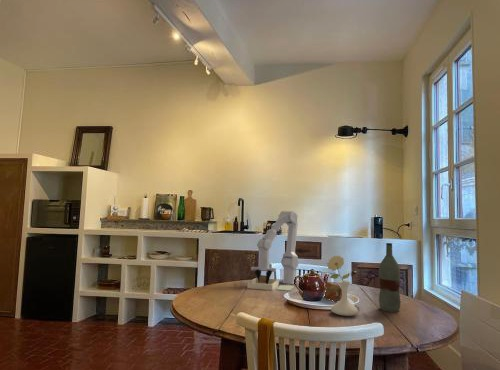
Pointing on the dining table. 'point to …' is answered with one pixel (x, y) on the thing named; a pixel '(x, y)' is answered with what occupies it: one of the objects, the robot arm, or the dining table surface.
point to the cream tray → (270, 286)
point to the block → (262, 279)
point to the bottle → (389, 282)
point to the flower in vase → (343, 305)
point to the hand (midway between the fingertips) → (263, 283)
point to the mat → (285, 288)
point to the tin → (333, 292)
